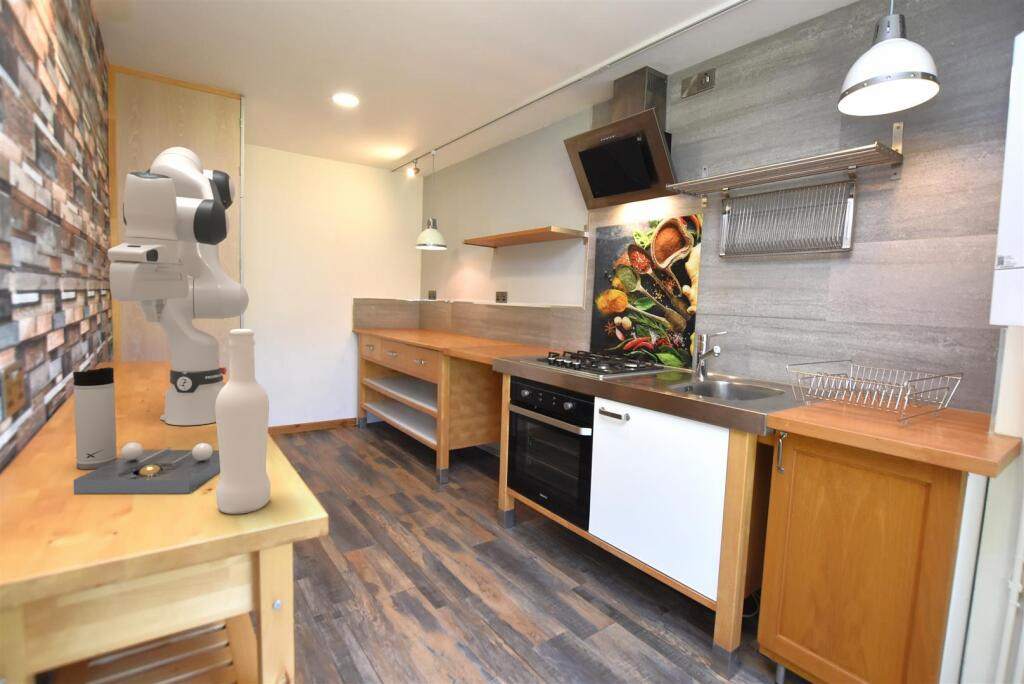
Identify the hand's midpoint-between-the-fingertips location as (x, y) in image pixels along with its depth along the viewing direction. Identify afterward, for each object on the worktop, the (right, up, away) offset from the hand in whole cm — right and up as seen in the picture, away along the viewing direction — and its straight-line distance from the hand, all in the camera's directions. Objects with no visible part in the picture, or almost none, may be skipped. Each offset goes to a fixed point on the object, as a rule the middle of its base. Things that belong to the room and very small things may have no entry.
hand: (155, 321), depth 102 cm
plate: (+6, -30, -7) cm, 32 cm away
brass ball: (+7, -29, -11) cm, 31 cm away
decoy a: (+13, -26, -5) cm, 29 cm away
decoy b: (0, -26, -6) cm, 26 cm away
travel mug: (-10, -29, -2) cm, 31 cm away
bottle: (+28, -32, -19) cm, 47 cm away
